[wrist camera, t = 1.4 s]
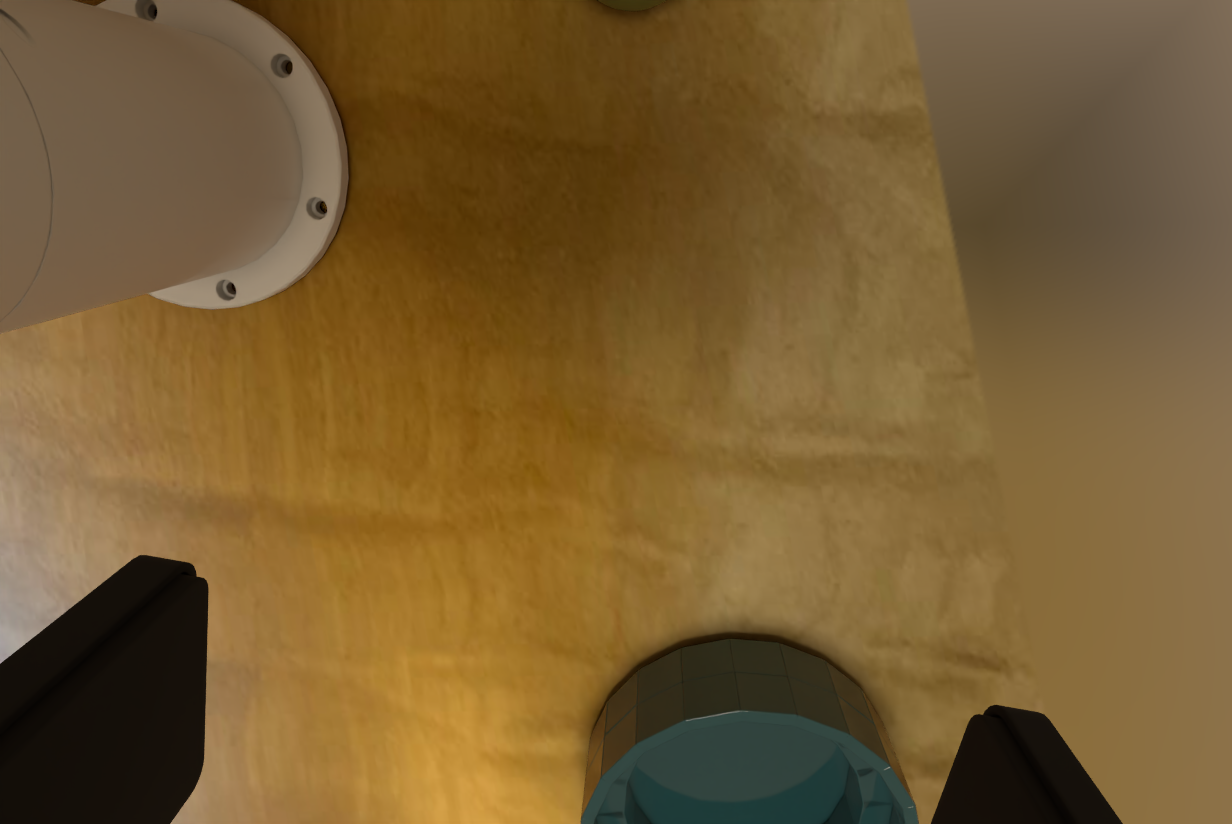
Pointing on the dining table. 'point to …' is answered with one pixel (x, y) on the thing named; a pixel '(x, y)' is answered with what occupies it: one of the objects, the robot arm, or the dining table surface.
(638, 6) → the pear
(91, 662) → the robot arm
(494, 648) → the dining table surface
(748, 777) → the bowl
